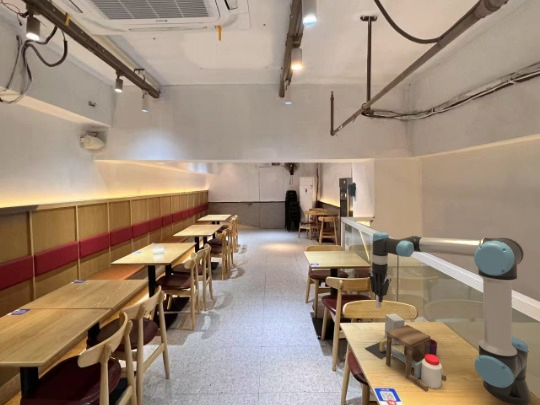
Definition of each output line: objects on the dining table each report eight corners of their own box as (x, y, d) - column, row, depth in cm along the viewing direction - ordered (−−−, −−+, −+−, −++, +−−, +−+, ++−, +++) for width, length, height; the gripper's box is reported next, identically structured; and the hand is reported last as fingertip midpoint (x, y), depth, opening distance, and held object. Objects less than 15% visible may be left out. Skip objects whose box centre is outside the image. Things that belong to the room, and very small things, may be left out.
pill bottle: (440, 390, 123) (442, 365, 122) (419, 383, 127) (421, 359, 126) (441, 380, 130) (443, 356, 129) (421, 373, 134) (423, 350, 133)
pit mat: (396, 352, 150) (396, 351, 150) (380, 359, 144) (380, 358, 144) (380, 342, 159) (380, 341, 159) (364, 348, 153) (364, 348, 153)
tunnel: (446, 379, 130) (448, 344, 128) (425, 391, 123) (427, 354, 121) (405, 355, 147) (407, 324, 146) (385, 364, 140) (387, 332, 139)
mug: (438, 359, 144) (439, 346, 144) (416, 357, 146) (417, 343, 146) (433, 351, 151) (434, 338, 150) (412, 349, 153) (413, 336, 152)
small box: (403, 343, 158) (405, 320, 156) (393, 345, 156) (394, 321, 155) (394, 335, 166) (395, 313, 164) (384, 336, 164) (385, 314, 163)
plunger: (428, 372, 134) (429, 358, 133) (416, 379, 130) (416, 365, 129) (388, 348, 153) (389, 336, 152) (376, 353, 148) (377, 341, 148)
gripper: (395, 264, 148) (394, 310, 150) (374, 258, 159) (373, 301, 161) (385, 266, 144) (384, 313, 146) (364, 260, 156) (363, 304, 158)
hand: (378, 307), depth 154 cm, fingers closed
